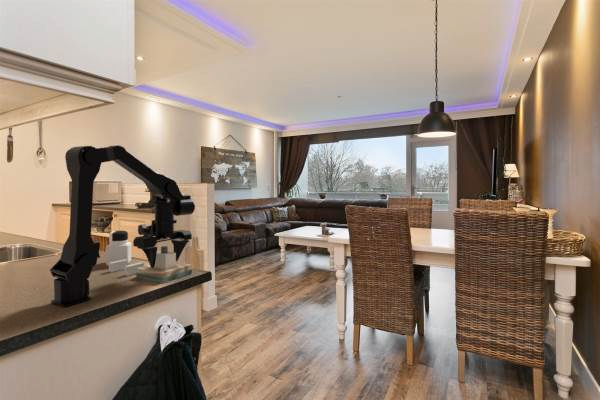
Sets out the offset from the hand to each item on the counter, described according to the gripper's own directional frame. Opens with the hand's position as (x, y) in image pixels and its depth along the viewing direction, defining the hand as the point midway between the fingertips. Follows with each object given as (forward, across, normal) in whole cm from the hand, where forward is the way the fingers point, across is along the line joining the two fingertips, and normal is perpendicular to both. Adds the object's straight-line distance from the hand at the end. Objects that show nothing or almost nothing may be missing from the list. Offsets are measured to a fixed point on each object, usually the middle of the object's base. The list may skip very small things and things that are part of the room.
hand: (164, 264), depth 106 cm
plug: (+2, 0, 0) cm, 2 cm away
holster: (+4, +4, -14) cm, 15 cm away
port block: (+4, 0, 0) cm, 4 cm away
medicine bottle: (+4, -2, -28) cm, 28 cm away
